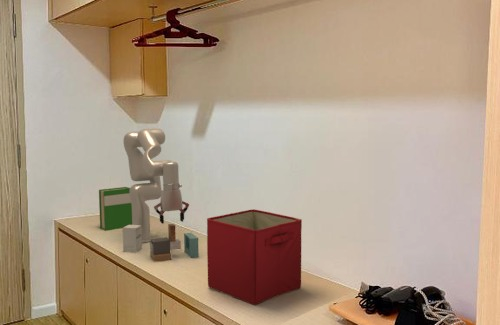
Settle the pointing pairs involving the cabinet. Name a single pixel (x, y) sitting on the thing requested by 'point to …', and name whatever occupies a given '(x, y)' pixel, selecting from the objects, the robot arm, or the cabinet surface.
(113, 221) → the hardback book
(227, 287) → the storage cube
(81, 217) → the cabinet surface
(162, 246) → the grey block with backplate
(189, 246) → the socket
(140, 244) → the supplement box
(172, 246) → the multicoloured piece
